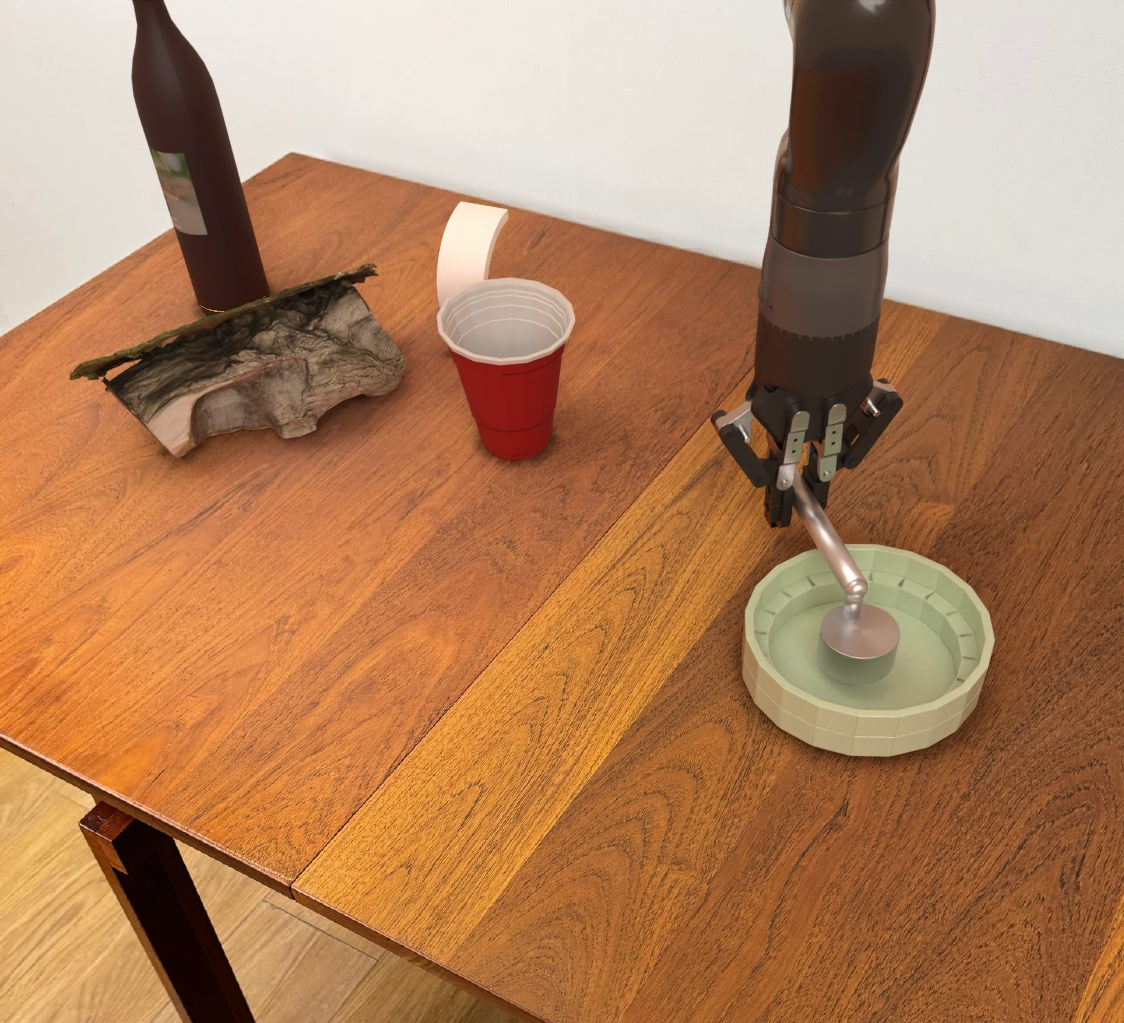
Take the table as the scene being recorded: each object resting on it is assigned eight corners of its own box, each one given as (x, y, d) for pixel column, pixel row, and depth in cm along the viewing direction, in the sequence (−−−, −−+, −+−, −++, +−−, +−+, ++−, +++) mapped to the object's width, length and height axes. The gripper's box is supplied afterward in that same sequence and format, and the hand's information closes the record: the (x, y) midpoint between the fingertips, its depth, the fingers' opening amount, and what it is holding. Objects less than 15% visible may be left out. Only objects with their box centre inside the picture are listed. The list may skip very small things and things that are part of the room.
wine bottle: (202, 287, 122) (97, -53, 99) (272, 279, 122) (183, -62, 99) (196, 325, 118) (85, -22, 94) (269, 317, 118) (175, -32, 95)
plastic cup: (510, 499, 98) (495, 370, 89) (429, 442, 104) (407, 314, 94) (608, 440, 102) (604, 311, 93) (526, 388, 108) (514, 261, 98)
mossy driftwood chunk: (133, 516, 107) (115, 484, 92) (70, 379, 105) (42, 324, 91) (422, 408, 113) (448, 361, 99) (367, 277, 112) (385, 210, 97)
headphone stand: (520, 334, 113) (508, 209, 104) (490, 369, 110) (476, 243, 101) (476, 325, 115) (461, 201, 105) (446, 359, 111) (427, 234, 102)
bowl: (918, 571, 90) (929, 524, 87) (1022, 730, 80) (1038, 684, 76) (710, 616, 88) (713, 570, 85) (789, 785, 78) (796, 741, 75)
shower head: (738, 515, 92) (743, 453, 88) (802, 502, 93) (810, 439, 88) (833, 692, 80) (844, 630, 76) (906, 675, 81) (922, 613, 77)
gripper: (735, 351, 72) (721, 570, 85) (950, 310, 73) (903, 531, 87) (695, 287, 76) (688, 504, 90) (898, 250, 78) (861, 468, 91)
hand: (794, 516), depth 88 cm, fingers closed on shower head
